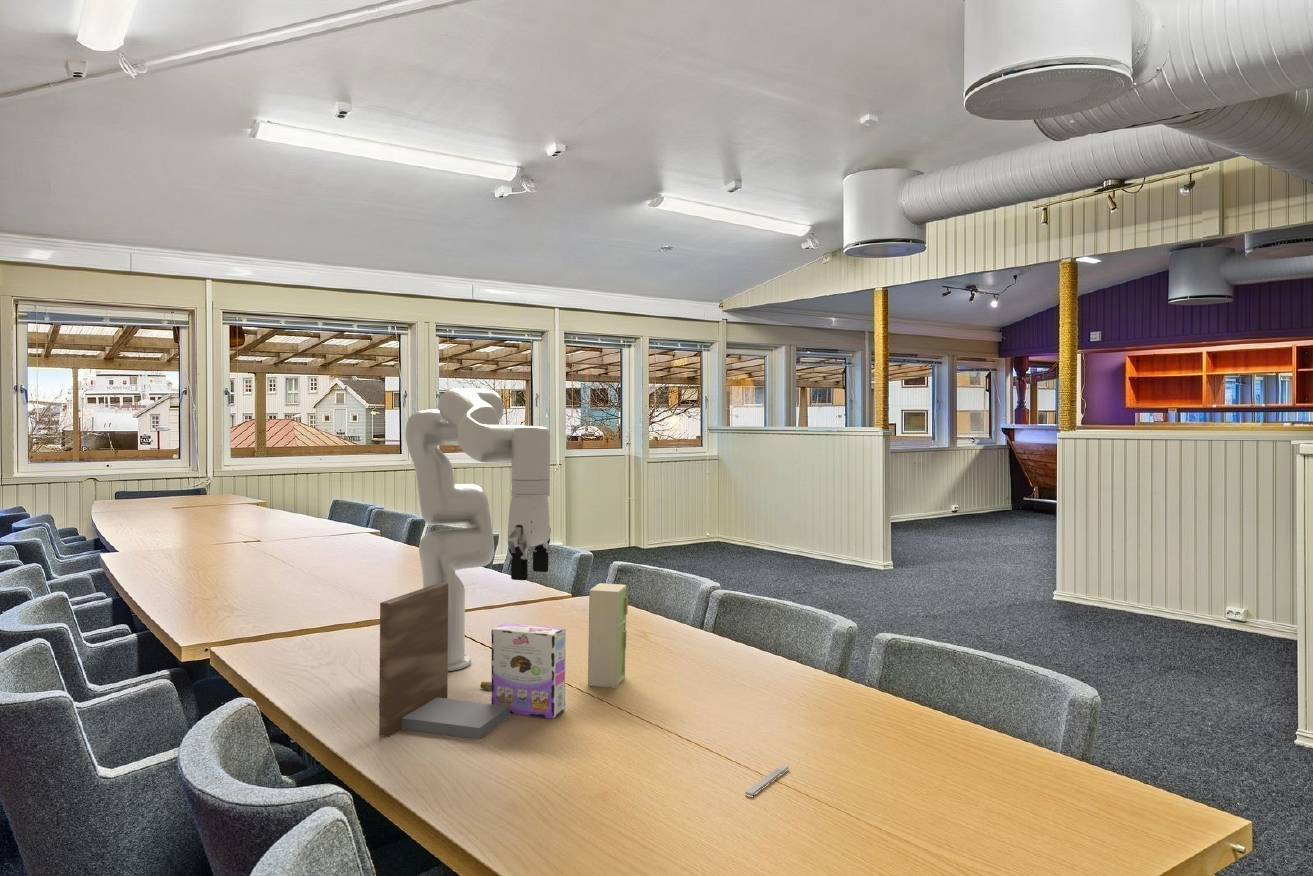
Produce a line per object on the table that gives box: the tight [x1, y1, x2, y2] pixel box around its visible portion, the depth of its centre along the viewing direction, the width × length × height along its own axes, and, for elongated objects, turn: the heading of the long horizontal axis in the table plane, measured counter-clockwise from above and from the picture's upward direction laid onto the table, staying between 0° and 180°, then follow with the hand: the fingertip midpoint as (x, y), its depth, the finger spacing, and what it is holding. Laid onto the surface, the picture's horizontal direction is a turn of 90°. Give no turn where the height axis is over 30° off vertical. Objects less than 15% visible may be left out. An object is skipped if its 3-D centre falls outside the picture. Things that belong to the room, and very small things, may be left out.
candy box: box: [491, 622, 566, 719], centre depth 159 cm, size 14×6×16 cm, turn 71°
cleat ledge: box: [401, 698, 511, 740], centre depth 153 cm, size 16×12×2 cm
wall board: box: [378, 583, 449, 737], centre depth 155 cm, size 2×20×24 cm, turn 164°
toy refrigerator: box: [587, 582, 629, 689], centre depth 178 cm, size 8×7×21 cm
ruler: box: [744, 764, 789, 796], centre depth 128 cm, size 12×1×1 cm, turn 145°
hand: (530, 575), depth 159 cm, fingers open, 9 cm apart
